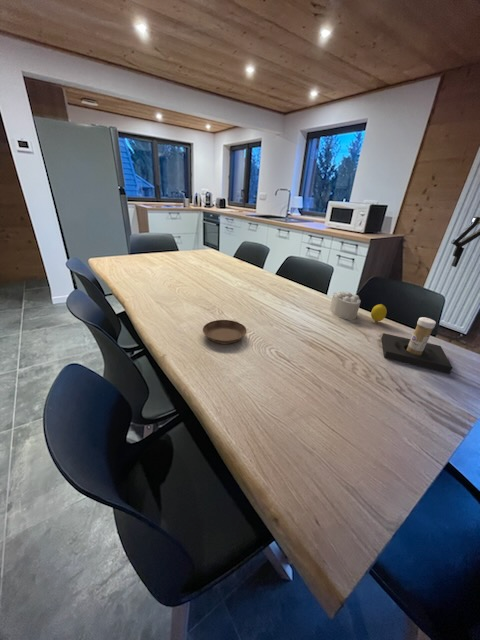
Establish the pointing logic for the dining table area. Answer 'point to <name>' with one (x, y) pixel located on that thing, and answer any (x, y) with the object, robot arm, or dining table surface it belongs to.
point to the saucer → (224, 331)
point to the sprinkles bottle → (421, 335)
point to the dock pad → (428, 359)
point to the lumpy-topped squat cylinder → (345, 305)
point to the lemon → (378, 312)
